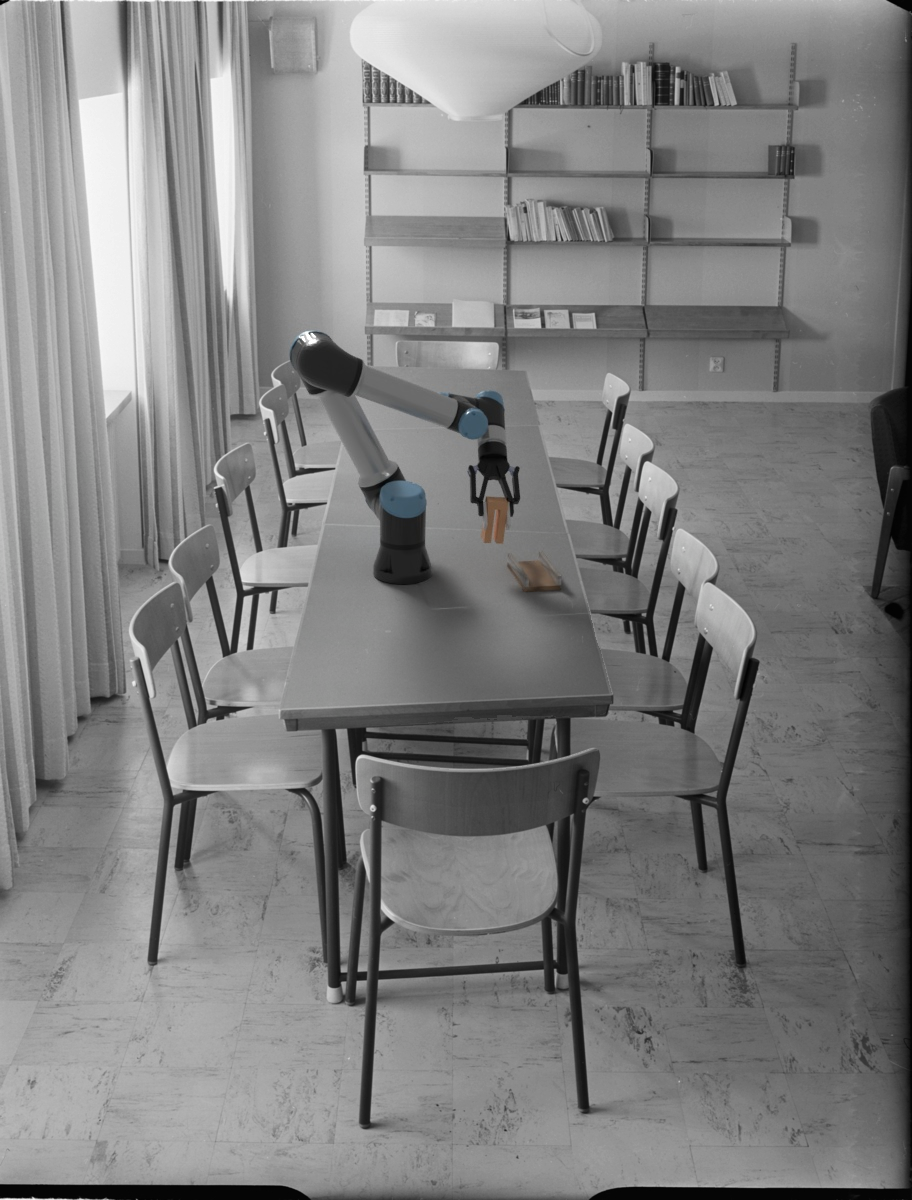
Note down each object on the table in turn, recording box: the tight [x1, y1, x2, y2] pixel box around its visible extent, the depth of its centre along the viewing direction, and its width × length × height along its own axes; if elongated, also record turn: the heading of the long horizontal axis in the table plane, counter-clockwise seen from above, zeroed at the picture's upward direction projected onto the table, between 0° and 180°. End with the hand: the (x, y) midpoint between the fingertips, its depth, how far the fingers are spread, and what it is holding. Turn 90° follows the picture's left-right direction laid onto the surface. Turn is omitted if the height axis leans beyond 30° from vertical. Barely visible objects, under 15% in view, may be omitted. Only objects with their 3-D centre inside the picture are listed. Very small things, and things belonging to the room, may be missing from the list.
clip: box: [480, 495, 508, 545], centre depth 305 cm, size 5×4×11 cm
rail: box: [506, 551, 563, 593], centre depth 308 cm, size 10×18×4 cm, turn 12°
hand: (497, 527), depth 301 cm, fingers closed on clip, 5 cm apart
